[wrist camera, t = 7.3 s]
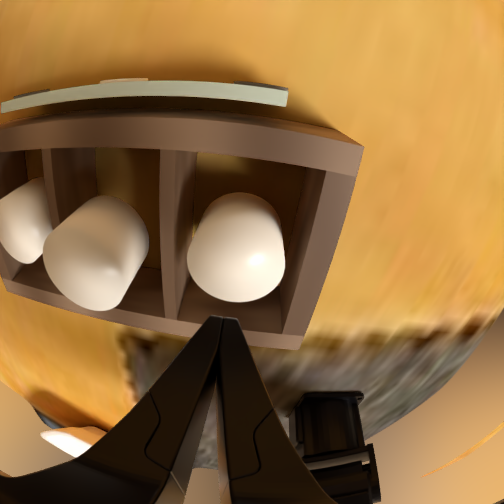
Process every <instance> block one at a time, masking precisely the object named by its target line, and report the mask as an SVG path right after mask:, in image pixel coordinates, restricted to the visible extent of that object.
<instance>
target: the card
mask: <svg viewBox="0 0 504 504" xmlns="http://www.w3.org/2000/svg"><path fill="white" fill-rule="evenodd" d="M288 92H289V91H288V88H285V87H280V86H275V85H268V84H261V83H253V82H244V81H234V84H229V83H217V82H201V81H148V78H127V79H112V80H103V81H100V84H94V85H86V86H78V87H71V88H65V89H59V90H53V91H50V89H46V90H41V91H35V92H31V93H26V94H22V95H18V96H14V99H13V100H9V101H5V102H2V103H1V114H2V113H6V112H10V111H14V110H19V109H24V108H29V107H34V106H39V105H45V104H52V103H58V102H65V101H73V100H82V99H92V98H105V97H122V96H189V97H206V98H220V99H230V100H240V101H248V102H256V103H264V104H270V105H277V106H283V107H286V104H287V98H288Z"/></svg>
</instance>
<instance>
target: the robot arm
mask: <svg viewBox="0 0 504 504" xmlns="http://www.w3.org/2000/svg"><path fill="white" fill-rule="evenodd" d="M216 377H217V379H216ZM215 383H216V414H217V449H218V473H219V492H220V504H373V503H377V502H381V493H380V485H379V478H378V472H377V466H376V459H375V454H374V448H373V443H371V444H367V445H366V446H365V442H364V436H363V430H362V425H361V419H360V414H359V408H358V405H359V404H360V402H361V401H362V400H363V399H364V394H363V393H346V394H316V393H307V394H304V395H303V396H302V398H301V400H300V402H299V403H298V405H297V406H296V407H295V408H294V409H293V411H292V413H291V414H290V416H289V438H290V439H289V438H288V436H287V434H286V432H285V430H284V428H283V426H282V424H281V422H280V420H279V417H278V415H277V413H276V410H275V409H274V406H273V404H272V401H271V399H270V397H269V394H268V392H267V390H266V387H265V385H264V383H263V380H262V378H261V375H260V373H259V371H258V368H257V366H256V363H255V361H254V358H253V356H252V353H251V351H250V348H249V346H248V344H247V341H246V339H245V336H244V333H243V331H242V328H241V326H240V323H239V321H238V319H237V318H231V317H225V318H224V320H223V317H222V316H216V315H210V316H209V317H208V318H207V319H206V320H205V322H204V323H203V324H202V325H201V327H200V328H199V329H198V330H197V332H196V333H195V334H194V335H193V336H192V338H191V339H190V340H189V341H188V342H187V344H186V345H185V346H184V347H183V349H182V350H181V351H180V352H179V353H178V355H177V356H176V357H175V358H174V360H173V361H172V362H171V363H170V364H169V366H168V367H167V368H166V369H165V370H164V372H163V373H162V374H161V375H160V377H159V378H158V379H157V380H156V381H155V383H154V384H153V385H152V386H151V387H150V389H149V392H148V391H147V392H146V393H145V394H144V396H143V397H142V398H141V399H140V401H139V402H138V403H137V404H136V405H135V406H134V407H133V408H132V409H131V411H130V412H129V413H128V414H127V415H126V416H125V417H124V418H123V419H121V420H120V421H119V422H118V423H117V424H116V425H115V426H114V427H113V428H112V429H111V430H110V431H108V432H107V433H106V434H105V435H104V436H103V437H102V438H101V439H99V440H98V441H97V442H96V443H95V444H94V445H93V446H91V447H90V448H89V449H88V450H87V451H85V452H84V453H83V454H81V455H80V456H78V457H76V458H75V459H72V460H70V461H68V462H65V463H62V464H59V465H56V466H53V467H50V468H47V469H44V470H40V471H37V472H34V473H30V474H27V475H23V476H19V477H11V476H10V475H8V474H6V473H4V472H2V471H1V470H0V504H183V502H184V499H185V495H186V491H187V487H188V484H189V480H190V476H191V472H192V469H193V465H194V462H195V458H196V454H197V450H198V447H199V443H200V439H201V436H202V432H203V428H204V424H205V421H206V417H207V413H208V410H209V406H210V402H211V399H212V395H213V391H214V387H215ZM365 461H369V463H368V464H365V465H362V462H365ZM494 504H504V499H502V500H500V501H498V502H496V503H494Z"/></svg>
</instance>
